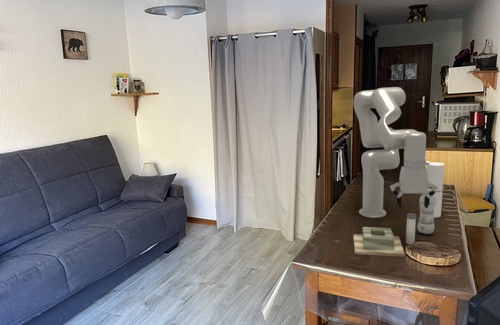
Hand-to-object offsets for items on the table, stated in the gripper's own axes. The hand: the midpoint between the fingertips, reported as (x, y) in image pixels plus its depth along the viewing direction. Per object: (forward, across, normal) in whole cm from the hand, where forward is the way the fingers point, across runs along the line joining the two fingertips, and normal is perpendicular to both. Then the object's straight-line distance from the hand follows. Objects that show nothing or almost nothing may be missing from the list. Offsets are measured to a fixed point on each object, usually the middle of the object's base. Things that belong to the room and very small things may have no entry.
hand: (412, 206), depth 149 cm
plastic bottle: (+16, -8, -12) cm, 21 cm away
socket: (+16, +13, +4) cm, 21 cm away
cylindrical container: (+15, -15, -34) cm, 40 cm away
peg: (+16, 0, -1) cm, 16 cm away
